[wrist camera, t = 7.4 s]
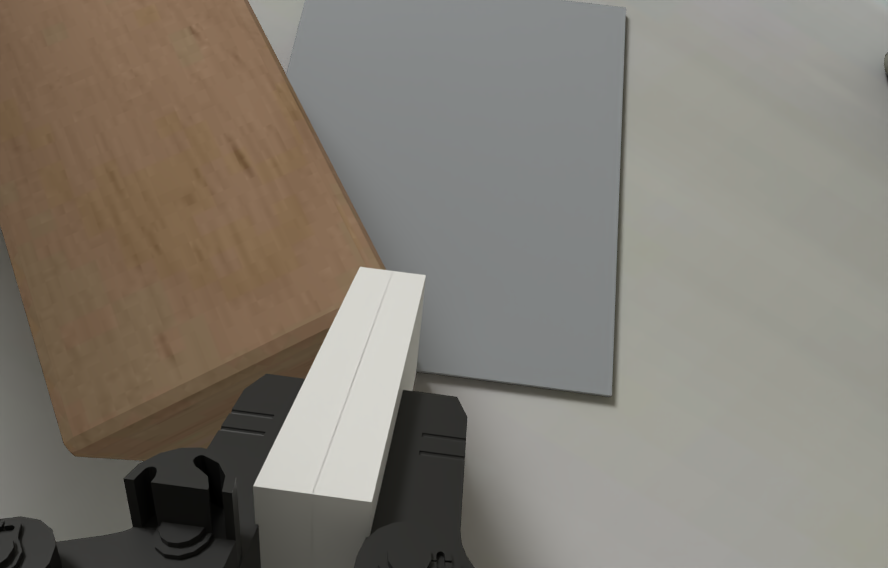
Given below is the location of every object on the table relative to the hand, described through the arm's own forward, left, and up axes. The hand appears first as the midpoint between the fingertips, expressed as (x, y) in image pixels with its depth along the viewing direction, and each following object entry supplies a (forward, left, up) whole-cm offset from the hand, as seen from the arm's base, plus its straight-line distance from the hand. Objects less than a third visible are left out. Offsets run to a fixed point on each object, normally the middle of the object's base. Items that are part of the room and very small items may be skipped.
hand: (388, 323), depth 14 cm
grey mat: (-12, 0, -14) cm, 18 cm away
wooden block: (+1, -4, -8) cm, 9 cm away
